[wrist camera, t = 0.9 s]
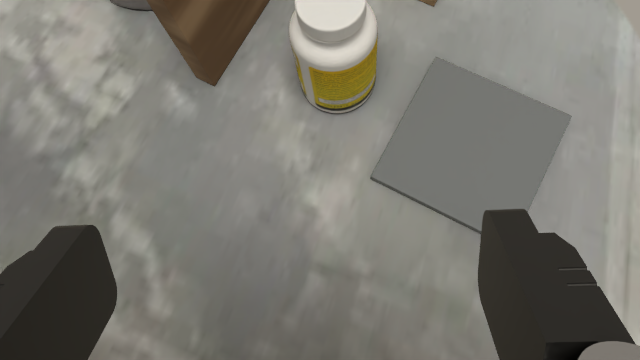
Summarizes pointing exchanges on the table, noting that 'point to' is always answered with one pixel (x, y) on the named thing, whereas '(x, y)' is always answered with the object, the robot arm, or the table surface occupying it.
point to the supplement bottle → (334, 52)
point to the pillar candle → (133, 4)
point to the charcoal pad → (470, 146)
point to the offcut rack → (210, 30)
